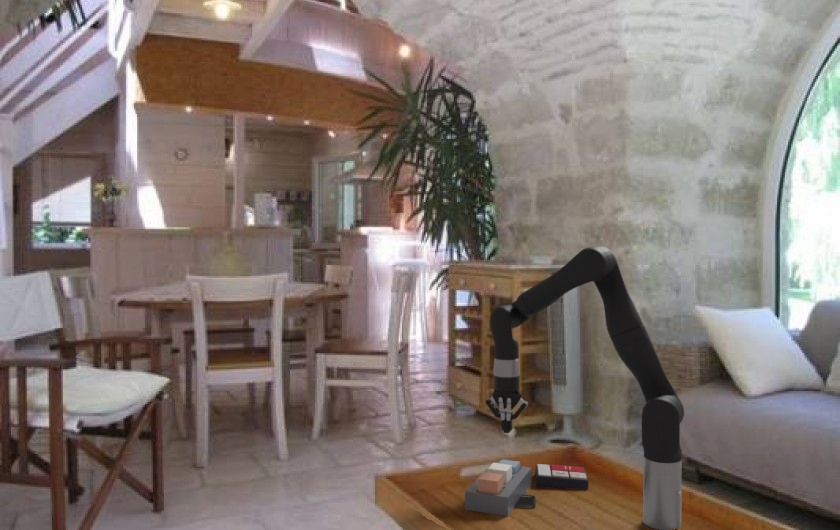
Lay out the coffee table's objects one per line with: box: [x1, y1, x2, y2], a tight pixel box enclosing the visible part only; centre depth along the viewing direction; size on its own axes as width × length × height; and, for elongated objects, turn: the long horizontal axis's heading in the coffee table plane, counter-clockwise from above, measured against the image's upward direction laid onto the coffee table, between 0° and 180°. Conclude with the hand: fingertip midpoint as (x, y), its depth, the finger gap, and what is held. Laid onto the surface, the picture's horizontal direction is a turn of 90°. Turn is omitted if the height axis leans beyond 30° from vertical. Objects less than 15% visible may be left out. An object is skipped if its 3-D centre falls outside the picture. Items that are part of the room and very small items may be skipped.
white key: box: [487, 462, 512, 484], centre depth 202 cm, size 6×6×4 cm
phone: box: [514, 494, 537, 509], centre depth 198 cm, size 8×1×15 cm
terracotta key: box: [477, 471, 503, 495], centre depth 194 cm, size 6×6×4 cm
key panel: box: [464, 462, 533, 517], centre depth 202 cm, size 12×26×5 cm, turn 157°
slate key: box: [498, 459, 521, 474], centre depth 210 cm, size 6×6×4 cm
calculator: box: [534, 463, 589, 490], centre depth 214 cm, size 11×4×15 cm
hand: (506, 432), depth 207 cm, fingers closed
